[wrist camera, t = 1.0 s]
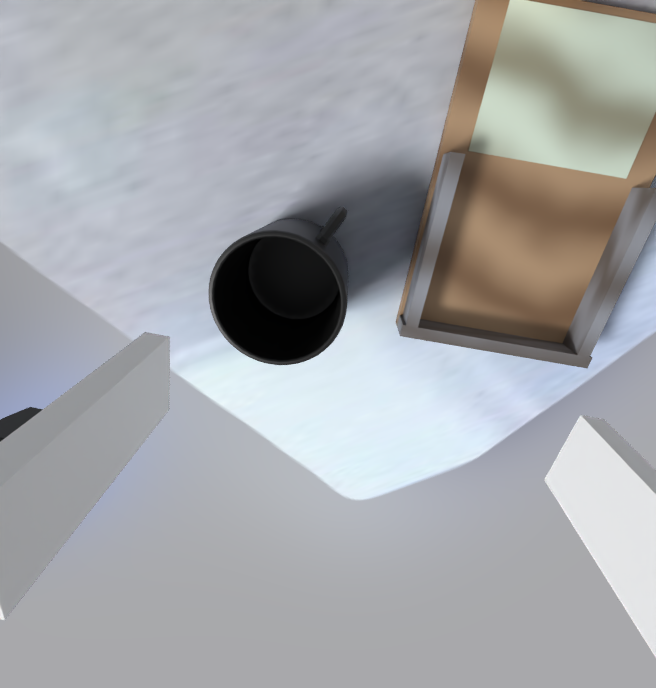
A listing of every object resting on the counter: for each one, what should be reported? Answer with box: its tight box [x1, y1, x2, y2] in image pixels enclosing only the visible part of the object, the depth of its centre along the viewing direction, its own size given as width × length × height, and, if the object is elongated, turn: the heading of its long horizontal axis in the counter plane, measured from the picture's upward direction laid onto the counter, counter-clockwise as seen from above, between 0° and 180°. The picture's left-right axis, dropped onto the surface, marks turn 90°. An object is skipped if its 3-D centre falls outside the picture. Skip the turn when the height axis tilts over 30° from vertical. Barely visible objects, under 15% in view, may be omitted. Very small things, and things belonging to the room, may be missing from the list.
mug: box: [209, 207, 348, 365], centre depth 29 cm, size 9×12×9 cm
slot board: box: [396, 0, 656, 368], centre depth 28 cm, size 24×16×4 cm, turn 171°
